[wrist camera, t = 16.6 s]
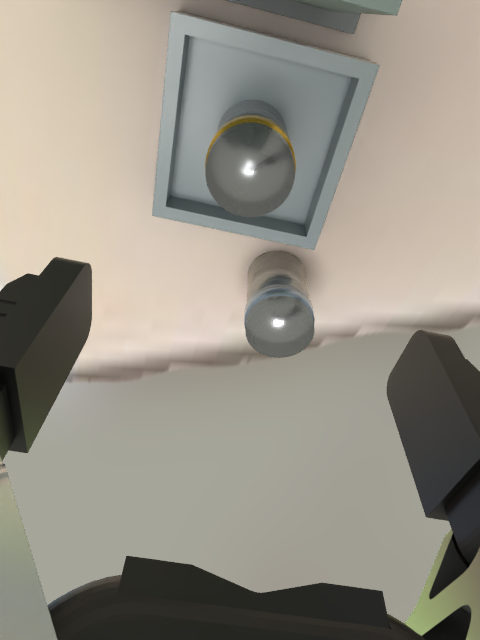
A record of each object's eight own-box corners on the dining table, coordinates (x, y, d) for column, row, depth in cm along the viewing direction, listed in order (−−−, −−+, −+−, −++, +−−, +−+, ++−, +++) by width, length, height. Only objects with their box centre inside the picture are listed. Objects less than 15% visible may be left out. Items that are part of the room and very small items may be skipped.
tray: (369, 60, 24) (379, 65, 22) (310, 234, 31) (314, 250, 29) (178, 10, 23) (171, 11, 21) (159, 201, 30) (152, 215, 28)
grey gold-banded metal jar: (278, 182, 28) (283, 227, 22) (209, 167, 28) (196, 209, 22) (298, 107, 25) (309, 136, 20) (222, 89, 25) (211, 114, 19)
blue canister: (314, 256, 32) (325, 310, 26) (296, 305, 34) (303, 364, 29) (254, 244, 31) (253, 295, 26) (241, 294, 34) (237, 351, 28)
